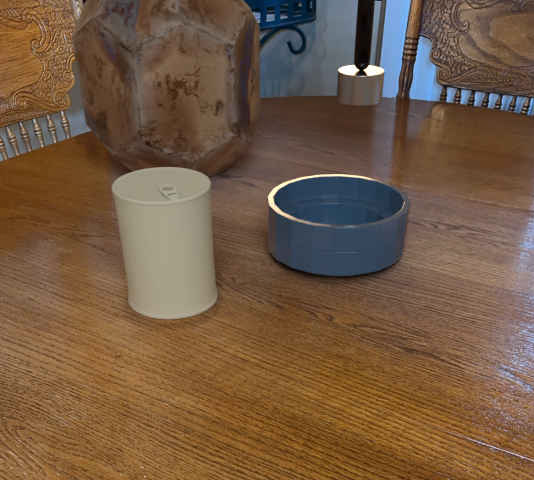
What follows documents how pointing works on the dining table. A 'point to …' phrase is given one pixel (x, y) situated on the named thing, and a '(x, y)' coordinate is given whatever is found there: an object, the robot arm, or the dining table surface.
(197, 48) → the planter
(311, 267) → the bowl
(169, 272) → the can
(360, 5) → the black handled meat pounder
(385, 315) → the dining table surface
